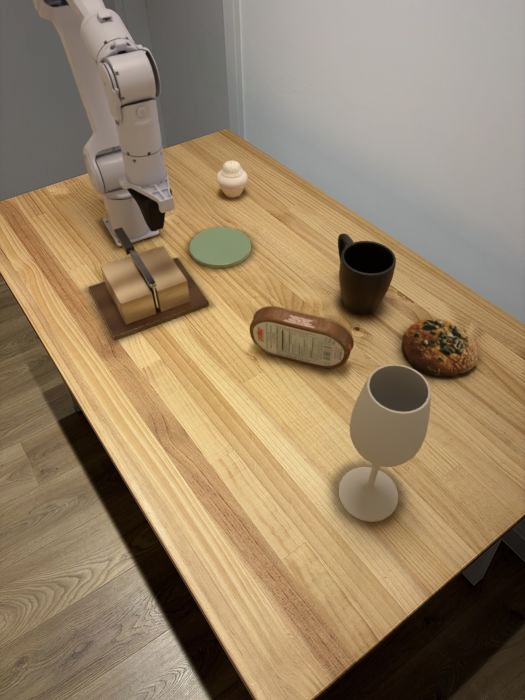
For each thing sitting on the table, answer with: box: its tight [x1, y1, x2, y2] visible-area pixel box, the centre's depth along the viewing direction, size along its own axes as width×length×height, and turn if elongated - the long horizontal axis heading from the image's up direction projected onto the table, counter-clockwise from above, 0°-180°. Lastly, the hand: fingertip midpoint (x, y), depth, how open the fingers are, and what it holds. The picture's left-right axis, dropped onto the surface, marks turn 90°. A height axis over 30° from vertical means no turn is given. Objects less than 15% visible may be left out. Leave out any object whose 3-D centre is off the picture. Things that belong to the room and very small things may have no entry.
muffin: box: [216, 159, 249, 198], centre depth 109 cm, size 6×6×7 cm
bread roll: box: [401, 318, 479, 377], centre depth 82 cm, size 11×11×5 cm
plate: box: [188, 226, 252, 269], centre depth 99 cm, size 11×11×1 cm
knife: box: [114, 227, 159, 309], centre depth 90 cm, size 16×1×5 cm, turn 29°
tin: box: [249, 305, 355, 369], centre depth 79 cm, size 15×3×8 cm, turn 71°
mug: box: [337, 232, 397, 316], centre depth 87 cm, size 8×12×10 cm
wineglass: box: [338, 363, 432, 523], centre depth 60 cm, size 8×8×21 cm
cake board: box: [87, 245, 210, 341], centre depth 89 cm, size 13×16×5 cm
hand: (155, 227), depth 87 cm, fingers closed
